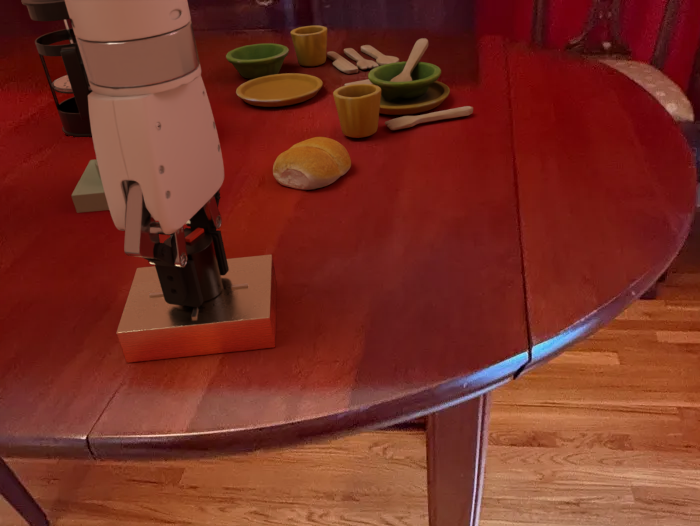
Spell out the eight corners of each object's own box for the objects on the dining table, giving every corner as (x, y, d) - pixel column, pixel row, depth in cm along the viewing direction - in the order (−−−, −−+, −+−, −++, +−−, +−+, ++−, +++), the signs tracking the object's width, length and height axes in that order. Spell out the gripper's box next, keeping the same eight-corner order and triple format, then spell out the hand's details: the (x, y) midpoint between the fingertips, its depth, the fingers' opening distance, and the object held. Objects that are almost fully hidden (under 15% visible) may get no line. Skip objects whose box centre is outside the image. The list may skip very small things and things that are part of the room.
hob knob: (204, 307, 58) (191, 255, 55) (164, 298, 60) (150, 246, 57) (232, 282, 61) (221, 231, 58) (194, 274, 62) (181, 223, 59)
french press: (65, 118, 106) (6, -62, 92) (131, 109, 107) (82, -71, 93) (59, 147, 97) (-7, -48, 83) (130, 136, 98) (77, -58, 84)
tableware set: (483, 118, 95) (485, 68, 91) (279, 160, 88) (272, 108, 84) (373, 45, 126) (370, 5, 122) (215, 72, 119) (208, 31, 115)
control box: (77, 213, 80) (65, 179, 78) (95, 176, 88) (85, 145, 86) (176, 204, 81) (167, 170, 78) (185, 168, 89) (178, 136, 86)
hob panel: (126, 363, 58) (115, 331, 56) (145, 296, 66) (136, 266, 64) (275, 347, 58) (269, 315, 56) (276, 282, 66) (271, 252, 64)
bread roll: (361, 164, 86) (359, 131, 83) (323, 196, 80) (319, 161, 77) (303, 155, 89) (299, 123, 87) (262, 185, 83) (256, 151, 81)
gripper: (153, 24, 56) (202, 236, 67) (15, 97, 43) (104, 341, 55) (242, 24, 54) (277, 242, 65) (125, 100, 41) (193, 353, 53)
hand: (198, 285), depth 60 cm, fingers closed on hob knob, 4 cm apart
